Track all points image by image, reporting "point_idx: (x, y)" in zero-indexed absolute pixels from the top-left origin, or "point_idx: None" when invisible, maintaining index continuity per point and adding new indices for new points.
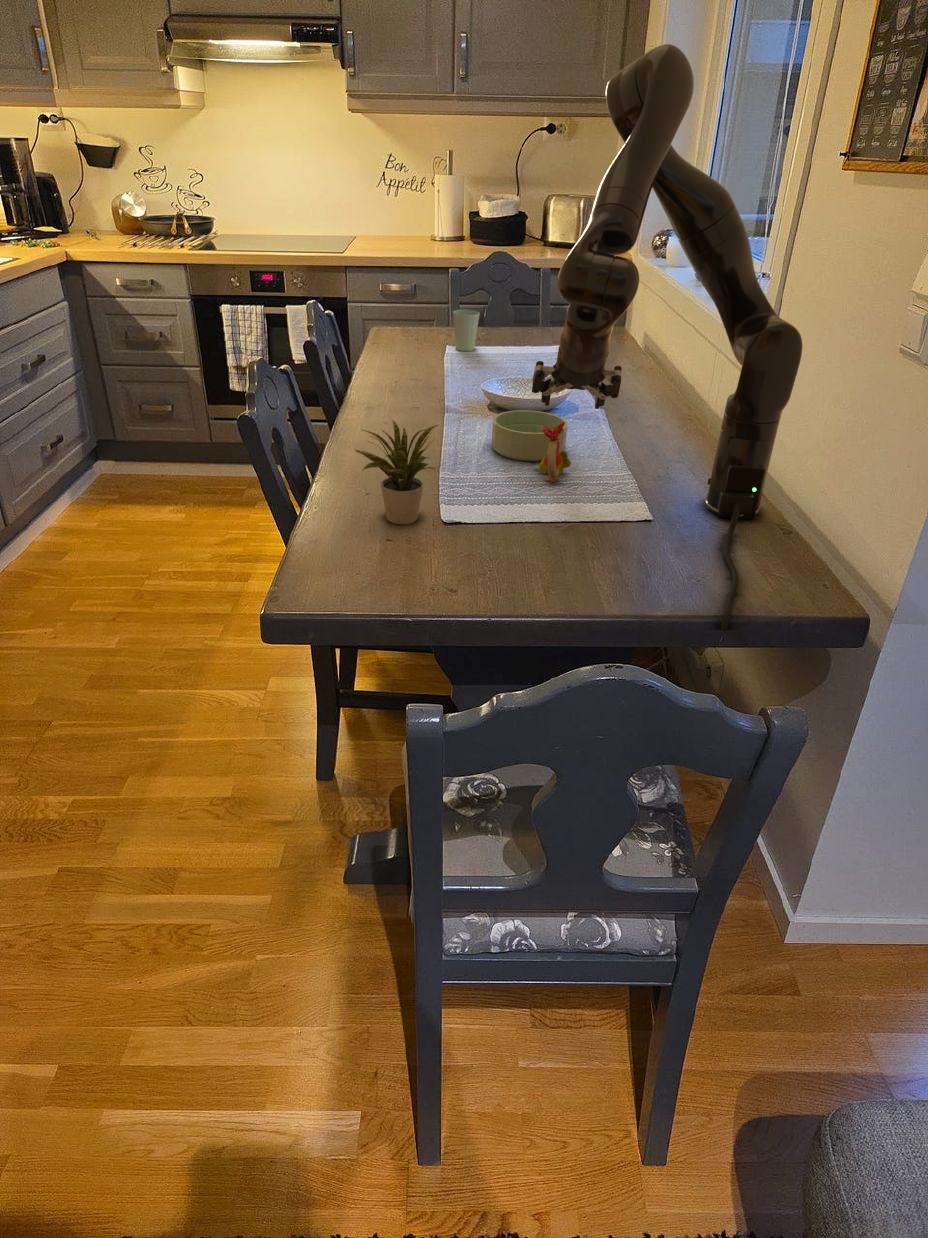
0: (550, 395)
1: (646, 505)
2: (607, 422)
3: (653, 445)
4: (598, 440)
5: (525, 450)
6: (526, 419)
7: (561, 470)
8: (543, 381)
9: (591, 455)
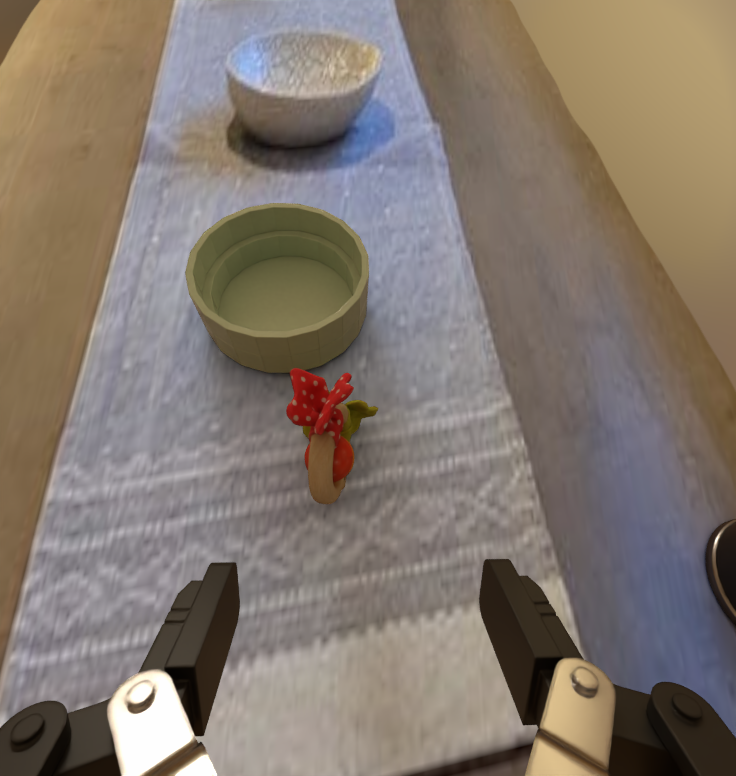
0: (202, 734)
1: (568, 601)
2: (448, 171)
3: (541, 256)
4: (434, 247)
5: (270, 362)
6: (281, 223)
7: (356, 426)
8: (94, 767)
9: (422, 319)
